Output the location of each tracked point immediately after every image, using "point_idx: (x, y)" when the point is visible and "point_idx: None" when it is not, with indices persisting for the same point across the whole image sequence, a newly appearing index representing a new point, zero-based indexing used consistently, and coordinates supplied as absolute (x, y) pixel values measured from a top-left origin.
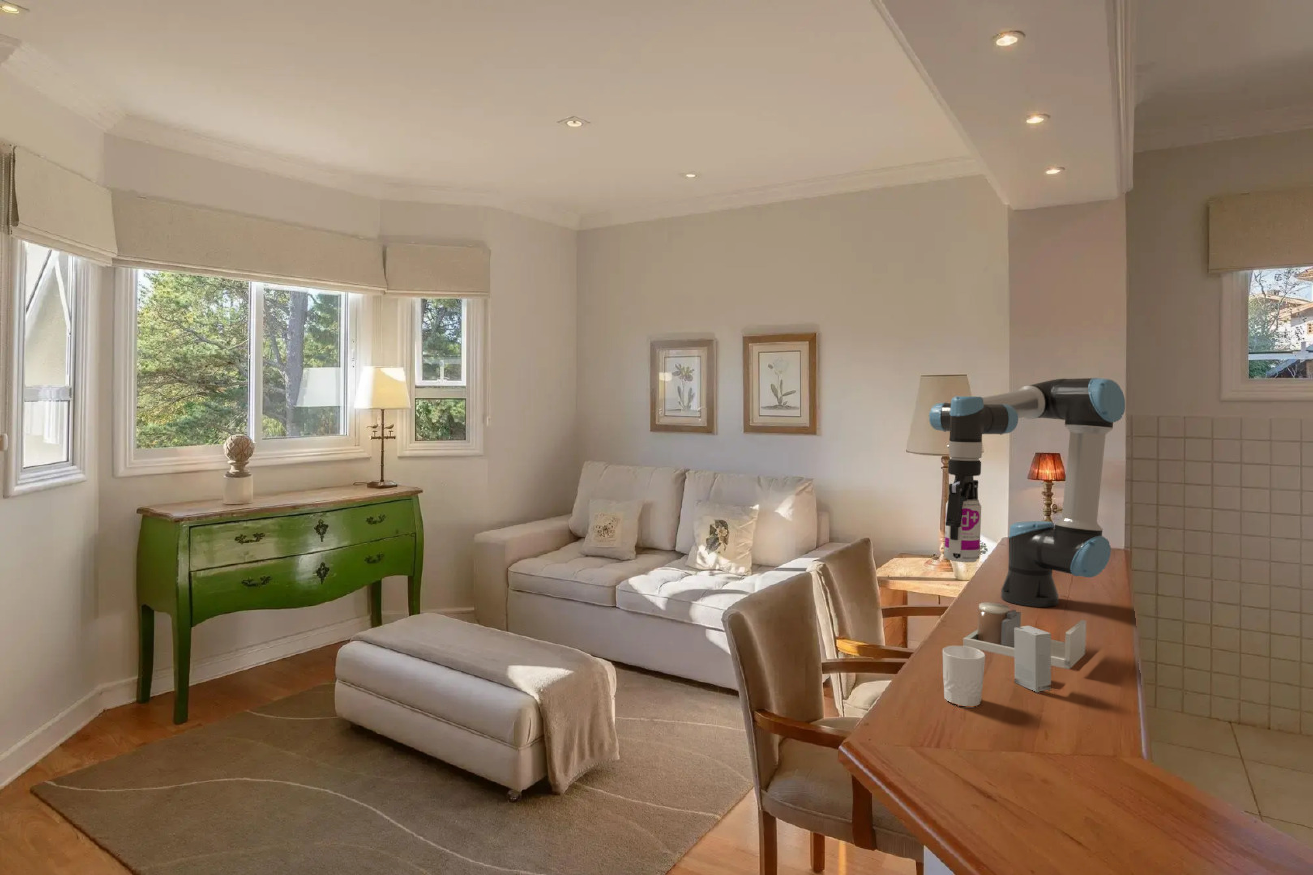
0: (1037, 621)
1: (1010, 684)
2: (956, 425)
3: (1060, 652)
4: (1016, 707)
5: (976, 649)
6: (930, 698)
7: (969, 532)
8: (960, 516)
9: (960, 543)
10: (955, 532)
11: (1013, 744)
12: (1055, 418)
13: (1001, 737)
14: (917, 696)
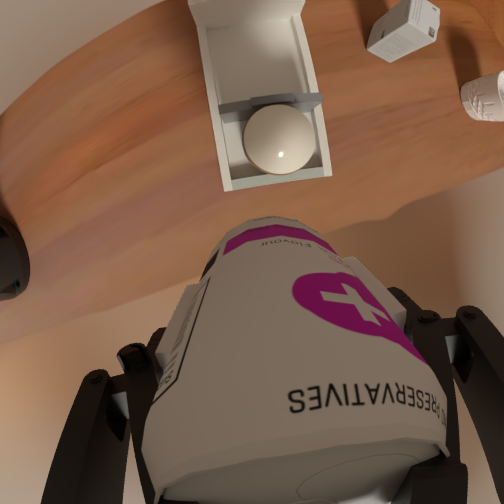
0: (66, 184)
1: (397, 66)
2: None
3: (223, 49)
4: (445, 48)
5: (498, 83)
6: (487, 131)
7: (351, 271)
8: (441, 350)
9: (366, 273)
10: (415, 306)
11: (495, 45)
12: None
13: (495, 54)
14: (491, 145)
